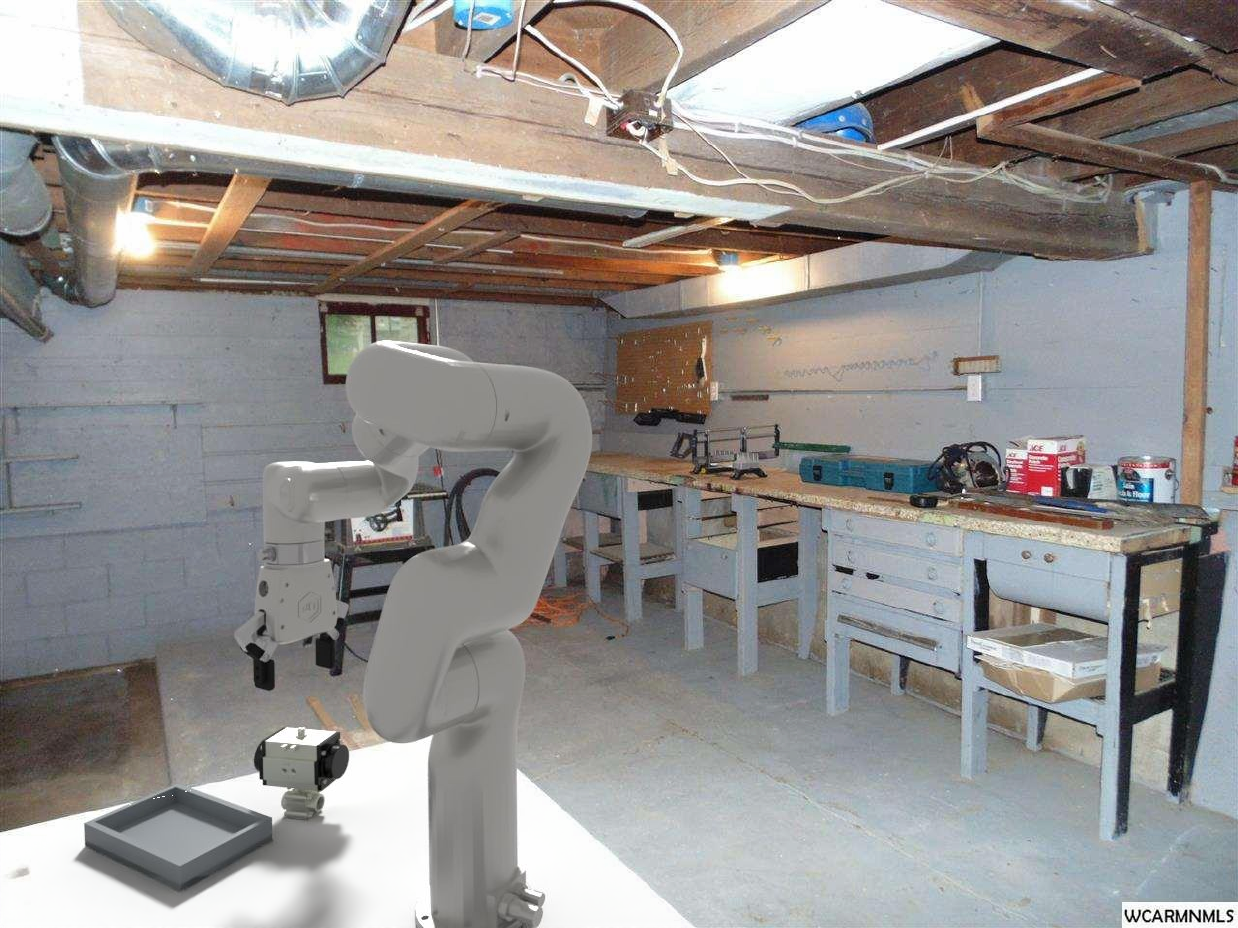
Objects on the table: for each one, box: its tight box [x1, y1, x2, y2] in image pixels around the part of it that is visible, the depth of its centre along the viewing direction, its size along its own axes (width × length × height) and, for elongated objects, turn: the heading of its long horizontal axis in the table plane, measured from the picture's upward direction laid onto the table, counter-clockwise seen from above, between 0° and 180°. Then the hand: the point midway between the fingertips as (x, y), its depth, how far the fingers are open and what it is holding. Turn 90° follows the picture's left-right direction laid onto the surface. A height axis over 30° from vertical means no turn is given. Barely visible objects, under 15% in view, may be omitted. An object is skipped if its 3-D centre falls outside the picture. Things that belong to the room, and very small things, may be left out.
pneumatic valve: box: [253, 726, 350, 821], centre depth 102 cm, size 6×12×12 cm, turn 79°
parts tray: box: [83, 783, 274, 893], centre depth 95 cm, size 20×12×3 cm, turn 62°
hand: (296, 677), depth 101 cm, fingers open, 9 cm apart
